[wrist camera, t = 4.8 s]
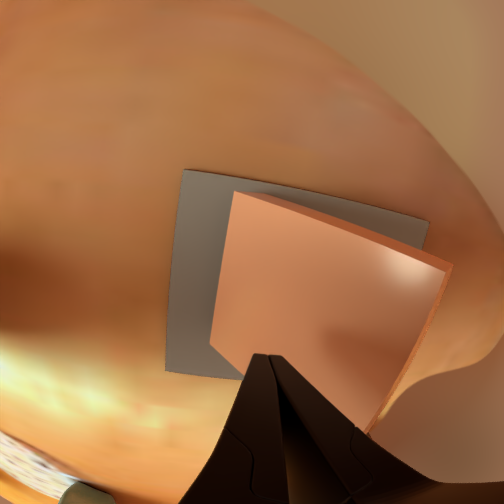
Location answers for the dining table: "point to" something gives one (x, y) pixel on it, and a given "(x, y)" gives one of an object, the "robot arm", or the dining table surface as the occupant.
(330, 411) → the robot arm
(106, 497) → the flower pot
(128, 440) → the dining table surface
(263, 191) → the slate mat
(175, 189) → the dining table surface
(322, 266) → the block
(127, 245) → the dining table surface
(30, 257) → the dining table surface
